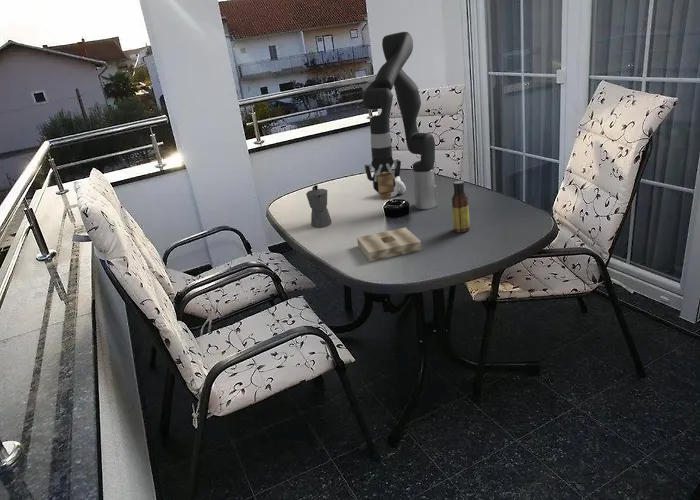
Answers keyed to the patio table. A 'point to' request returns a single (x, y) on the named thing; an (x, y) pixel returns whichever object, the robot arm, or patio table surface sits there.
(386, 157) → the robot arm
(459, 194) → the sauce bottle
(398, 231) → the birch board
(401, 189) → the white knot
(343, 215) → the patio table surface
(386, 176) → the oak peg
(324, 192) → the coffeepot
